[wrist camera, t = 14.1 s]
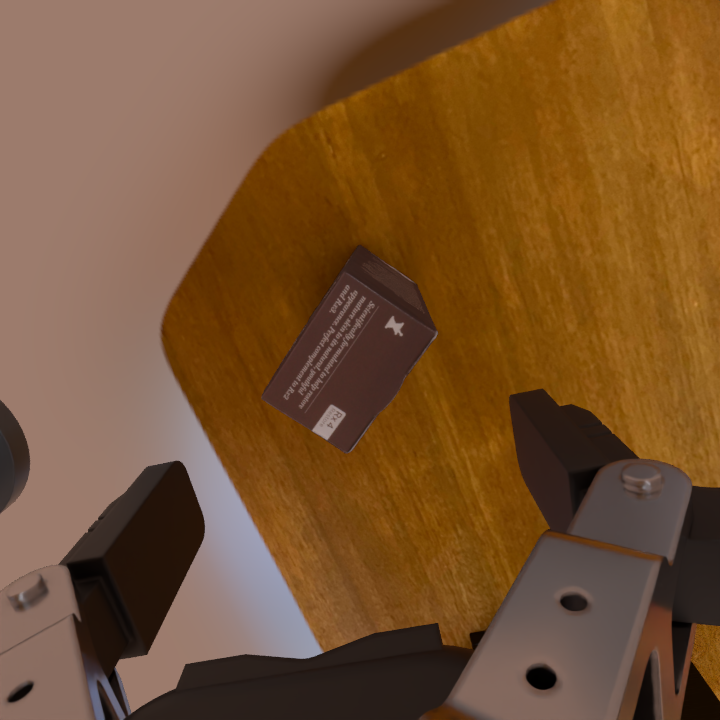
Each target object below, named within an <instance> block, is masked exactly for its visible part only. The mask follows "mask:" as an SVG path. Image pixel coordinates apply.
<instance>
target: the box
mask: <svg viewBox="0 0 720 720" xmlns="http://www.w3.org/2000/svg"><path fill="white" fill-rule="evenodd" d="M437 335H438V331H437V330H436V327H435V326H434V323H433V321H432V319H431V317H430V314H429V312H428V310H427V307H426V305H425V302H424V300H423V298H422V295H421V293H420V291H419V289H418V286H417V284H415V283H414V282H413V281H412V280H410V279H409V278H408V277H407V276H405V275H403V274H402V273H400V272H399V271H397V270H396V269H394V268H393V267H392V266H390V265H389V264H387V263H385V262H384V261H383V260H381V259H380V258H378V257H377V256H375V255H374V254H372V253H371V252H370V251H368V250H367V249H365V248H364V247H363V246H361V245H359V246H357V248H356V249H355V251H354V252H353V254H352V255H351V257H350V258H349V260H348V261H347V263H346V264H345V266H344V267H343V269H342V270H341V272H340V273H339V275H338V276H337V278H336V280H335V281H334V283H333V284H332V286H331V287H330V289H329V290H328V292H327V293H326V295H325V296H324V298H323V299H322V301H321V303H320V304H319V306H318V307H317V308H316V310H315V311H314V312H313V314H312V315H311V317H310V319H309V321H308V322H307V324H306V325H305V327H304V328H303V330H302V331H301V333H300V335H299V336H298V337H297V339H296V341H295V342H294V344H293V346H292V347H291V349H290V350H289V352H288V353H287V355H286V356H285V358H284V359H283V361H282V362H281V364H280V366H279V368H278V369H277V371H276V372H275V374H274V376H273V377H272V379H271V381H270V382H269V384H268V386H267V387H266V389H265V390H264V392H263V394H262V399H263V400H264V401H265V402H267V403H268V404H270V405H272V406H273V407H275V408H276V409H278V410H279V411H281V412H282V413H284V414H286V415H287V416H289V417H290V418H292V419H294V420H295V421H297V422H299V423H300V424H302V425H303V426H305V427H307V428H308V429H310V430H311V431H313V432H314V433H316V434H317V435H319V436H320V437H322V438H323V439H325V440H326V441H328V442H329V443H331V444H332V445H334V446H335V447H337V448H338V449H340V450H341V451H343V452H344V453H349V452H351V451H352V450H353V449H354V447H355V446H356V445H357V443H358V442H359V440H360V439H361V437H362V436H363V435H364V433H365V432H366V431H367V429H368V428H369V426H370V425H371V424H372V422H373V421H374V420H375V418H376V417H377V415H378V414H379V413H380V412H381V411H382V410H383V409H385V408H386V407H387V406H388V405H389V403H390V402H391V401H392V400H393V399H394V397H395V396H396V394H397V393H398V391H399V390H400V388H401V386H402V383H403V381H404V379H405V378H406V376H407V375H408V374H409V373H410V371H411V370H412V368H413V367H414V366H415V364H416V363H417V362H418V361H419V359H420V358H421V356H422V355H423V354H424V352H425V351H426V350H427V348H428V347H429V346H430V344H431V343H432V342H433V340H434V339H435V338H436V337H437Z"/></svg>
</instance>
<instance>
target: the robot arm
mask: <svg viewBox="0 0 720 720" xmlns="http://www.w3.org/2000/svg"><path fill="white" fill-rule="evenodd" d="M509 404H510V412H511V418H512V425H513V432H514V439H515V445H516V452H517V458H518V463H519V467H520V470H521V473H522V476H523V479H524V481H525V483H526V485H527V487H528V489H529V491H530V492H531V494H532V496H533V498H534V500H535V501H536V503H537V505H538V507H539V509H540V510H541V512H542V514H543V516H544V518H545V520H546V521H547V523H548V525H549V527H550V529H548V530H546V531H545V532H544V533H543V534H542V535H541V537H540V538H539V540H538V542H537V543H536V545H535V547H534V549H533V550H532V552H531V554H530V556H529V557H528V559H527V561H526V562H525V564H524V566H523V568H522V569H521V571H520V573H519V575H518V576H517V578H516V580H515V582H514V583H513V585H512V587H511V589H510V590H509V592H508V594H507V596H506V597H505V599H504V601H503V602H502V604H501V606H500V608H499V609H498V611H497V613H496V615H495V616H494V618H493V620H492V622H491V623H490V625H489V627H488V629H487V630H486V632H485V634H484V635H483V637H482V639H481V641H480V642H479V644H478V646H477V648H476V649H475V650H472V649H467V648H462V647H457V646H449V645H443V643H442V639H441V634H440V630H439V625H438V623H435V624H429V625H422V626H416V627H410V628H404V629H398V630H392V631H386V632H380V633H374V634H371V635H369V636H366V637H363V638H361V639H358V640H356V641H353V642H351V643H348V644H345V645H343V646H340V647H338V648H335V649H333V650H330V651H327V652H325V653H322V654H320V655H317V656H315V657H311V658H307V659H296V658H283V657H271V656H259V655H247V654H245V655H239V656H233V657H227V658H220V659H215V660H208V661H202V662H196V663H190V664H186V665H185V667H184V670H183V672H182V675H181V677H180V680H179V682H178V685H177V687H176V689H174V690H172V691H169V692H167V693H165V694H163V695H161V696H159V697H157V698H155V699H153V700H152V701H150V702H148V703H147V704H145V705H143V706H142V707H140V708H139V709H137V710H136V711H135V712H133V713H131V710H130V707H129V704H128V700H127V697H126V694H125V691H124V687H123V684H122V681H121V678H120V676H119V674H118V672H117V670H116V668H115V666H116V664H117V662H118V661H119V659H125V658H131V657H137V656H143V655H147V654H148V651H149V650H150V648H151V645H152V643H153V641H154V639H155V637H156V635H157V633H158V631H159V629H160V627H161V625H162V623H163V621H164V619H165V617H166V615H167V613H168V611H169V609H170V607H171V605H172V602H173V601H174V598H175V596H176V594H177V592H178V590H179V588H180V586H181V584H182V582H183V580H184V578H185V576H186V574H187V572H188V570H189V568H190V565H191V564H192V562H193V560H194V558H195V556H196V554H197V552H198V549H199V548H200V545H201V544H202V541H203V538H204V533H205V524H204V517H203V514H202V511H201V508H200V505H199V503H198V500H197V497H196V494H195V492H194V489H193V486H192V484H191V481H190V478H189V475H188V473H187V470H186V468H185V466H184V465H183V463H181V462H180V461H173V462H168V463H163V464H158V465H153V466H148V467H146V469H144V471H143V472H142V473H141V474H140V475H139V477H138V478H137V479H136V480H135V482H134V483H133V484H132V485H131V486H130V487H129V488H128V490H127V491H126V492H125V493H124V494H123V495H121V496H120V497H119V498H117V499H116V500H115V501H114V502H112V503H111V504H110V505H109V506H108V507H107V508H106V510H105V511H104V512H103V513H102V514H101V515H100V516H99V518H98V521H95V522H94V524H93V525H92V526H91V527H90V528H89V529H88V533H85V534H84V535H83V537H82V538H81V539H80V540H79V541H78V542H77V543H76V544H75V546H74V547H73V548H72V549H71V550H70V551H69V553H68V554H67V555H66V556H65V557H64V558H63V560H62V561H61V562H60V563H59V564H58V565H51V566H46V567H43V568H40V569H37V570H35V571H32V572H30V573H28V574H26V575H24V576H22V577H20V578H19V579H17V580H15V581H14V582H12V583H11V584H9V585H8V586H6V587H5V588H4V589H2V590H1V591H0V720H680V718H681V712H682V706H683V701H684V695H685V690H686V684H687V678H688V673H689V667H690V662H691V656H692V651H693V645H694V639H695V634H696V628H697V624H705V625H715V626H720V488H710V487H698V486H692V482H691V480H690V478H689V477H688V475H687V474H686V473H684V472H683V471H682V470H680V469H679V468H677V467H675V466H673V465H670V464H667V463H664V462H660V461H656V460H650V459H640V458H639V457H638V456H636V455H635V454H634V453H633V452H632V451H631V450H630V449H629V448H628V447H627V446H626V445H625V444H624V443H623V442H622V441H621V440H620V439H619V438H618V437H617V436H616V435H614V434H612V433H611V431H610V430H609V429H608V428H607V427H606V426H605V425H602V422H601V421H600V420H599V419H598V418H597V417H596V416H595V415H594V414H592V413H591V412H590V411H588V410H585V409H583V408H580V407H577V406H575V405H572V404H570V405H565V406H560V407H559V405H558V404H557V403H556V402H555V401H554V400H553V399H552V398H551V397H550V396H549V395H548V393H547V392H546V391H545V390H544V389H538V390H533V391H528V392H523V393H518V394H513V395H510V397H509Z"/></svg>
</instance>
